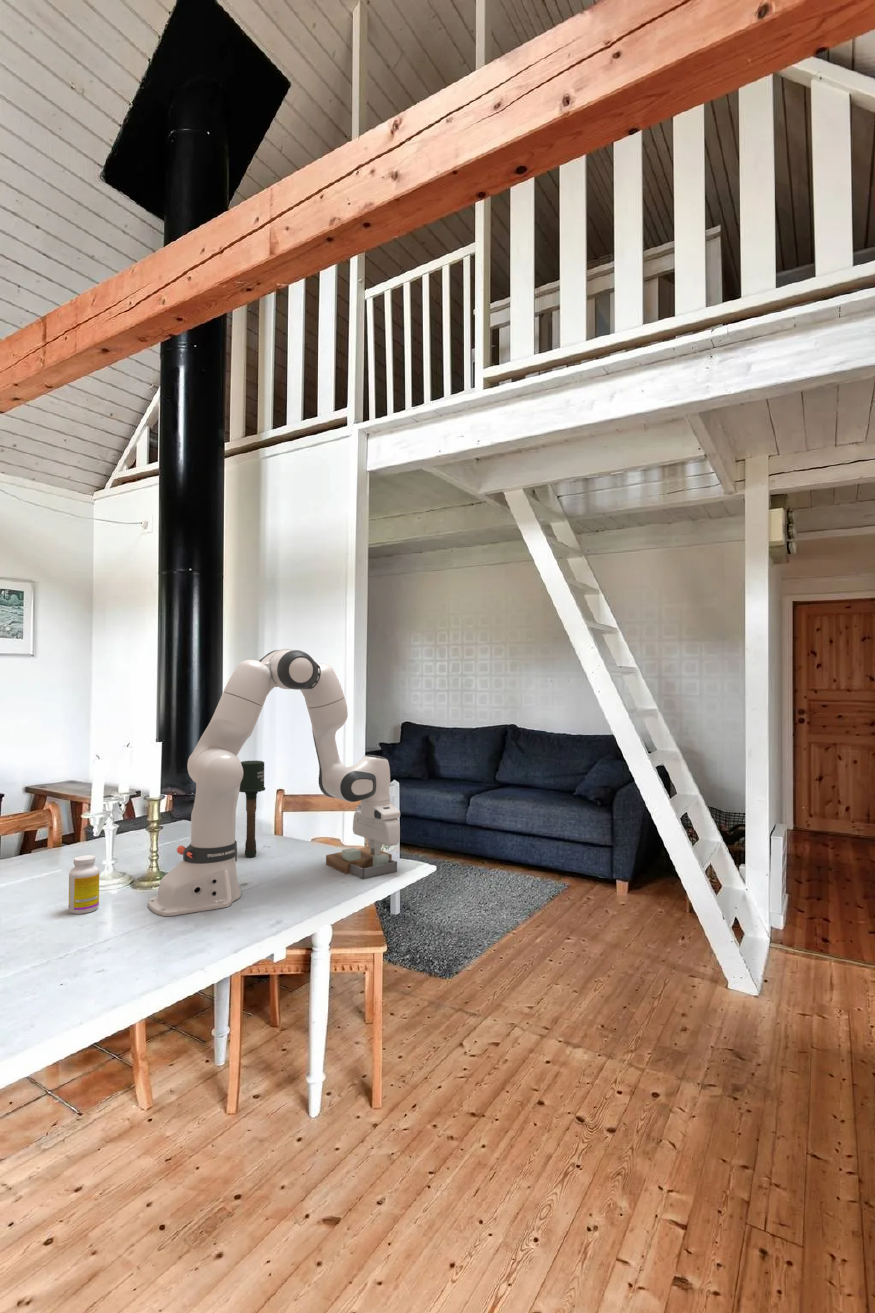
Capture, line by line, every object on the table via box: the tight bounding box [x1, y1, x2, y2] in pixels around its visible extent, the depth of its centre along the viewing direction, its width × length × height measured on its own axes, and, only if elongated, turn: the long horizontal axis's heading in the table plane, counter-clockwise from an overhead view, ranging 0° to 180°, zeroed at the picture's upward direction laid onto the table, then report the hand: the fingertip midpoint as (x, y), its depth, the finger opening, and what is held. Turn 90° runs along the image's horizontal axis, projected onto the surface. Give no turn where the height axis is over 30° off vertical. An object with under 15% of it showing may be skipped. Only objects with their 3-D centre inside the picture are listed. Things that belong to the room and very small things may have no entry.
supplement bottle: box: [68, 854, 100, 915], centre depth 164 cm, size 7×7×13 cm
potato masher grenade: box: [239, 760, 266, 859], centre depth 212 cm, size 8×9×30 cm
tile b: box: [373, 853, 389, 867], centre depth 199 cm, size 4×4×2 cm
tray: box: [349, 859, 398, 880], centre depth 196 cm, size 12×7×3 cm, turn 130°
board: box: [325, 846, 393, 875], centre depth 204 cm, size 16×12×3 cm
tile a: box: [341, 847, 361, 861], centre depth 200 cm, size 4×4×2 cm
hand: (375, 854), depth 201 cm, fingers closed
